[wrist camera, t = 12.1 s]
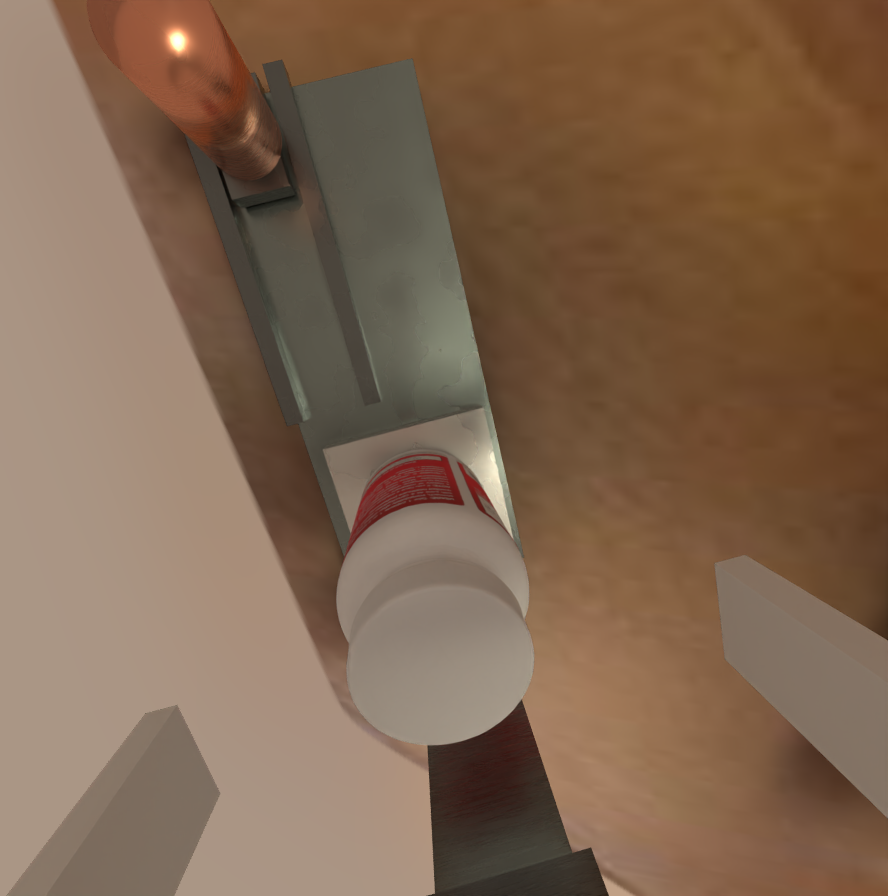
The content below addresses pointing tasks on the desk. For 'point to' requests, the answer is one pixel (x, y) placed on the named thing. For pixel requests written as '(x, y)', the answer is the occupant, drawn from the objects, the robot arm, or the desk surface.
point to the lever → (198, 87)
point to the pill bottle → (433, 604)
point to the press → (391, 401)
